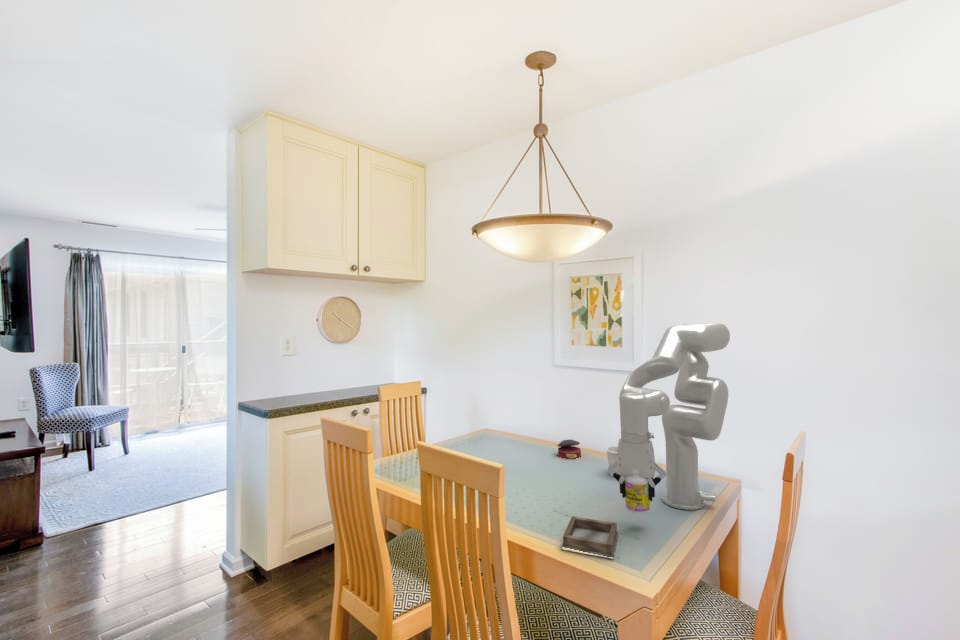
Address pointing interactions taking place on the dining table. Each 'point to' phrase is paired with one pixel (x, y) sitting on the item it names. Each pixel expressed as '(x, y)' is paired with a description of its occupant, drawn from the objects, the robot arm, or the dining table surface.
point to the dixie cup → (612, 456)
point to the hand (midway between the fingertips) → (637, 497)
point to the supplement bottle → (637, 494)
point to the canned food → (569, 449)
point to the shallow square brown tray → (591, 536)
